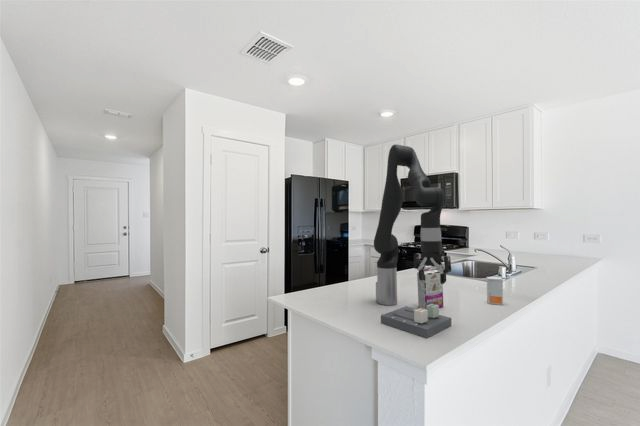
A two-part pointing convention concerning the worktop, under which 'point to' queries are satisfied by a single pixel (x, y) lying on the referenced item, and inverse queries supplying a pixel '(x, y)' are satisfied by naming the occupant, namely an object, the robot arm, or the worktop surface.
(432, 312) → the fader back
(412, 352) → the worktop surface
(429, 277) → the candy bar box
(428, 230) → the robot arm
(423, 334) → the fader board
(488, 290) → the skincare box
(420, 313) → the block
